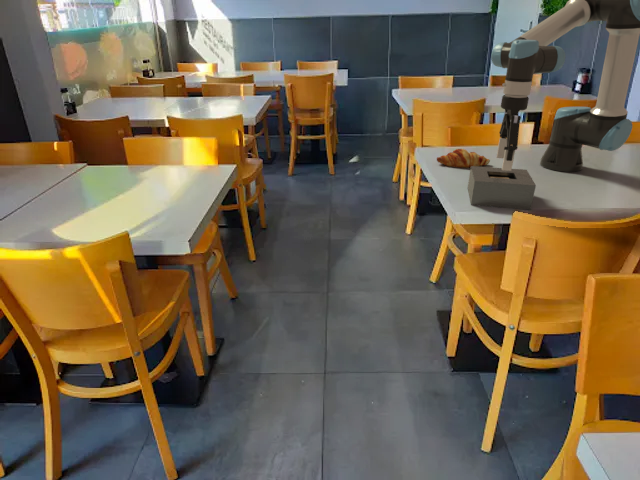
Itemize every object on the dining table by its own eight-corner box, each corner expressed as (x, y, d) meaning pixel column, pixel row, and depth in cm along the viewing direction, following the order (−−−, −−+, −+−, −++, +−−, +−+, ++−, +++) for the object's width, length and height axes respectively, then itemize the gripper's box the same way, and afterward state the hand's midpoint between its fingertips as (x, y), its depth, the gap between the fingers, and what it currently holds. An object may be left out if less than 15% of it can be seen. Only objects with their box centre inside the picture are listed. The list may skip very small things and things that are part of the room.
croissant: (485, 171, 198) (485, 152, 198) (494, 166, 188) (494, 146, 188) (433, 170, 197) (433, 150, 197) (440, 165, 187) (440, 145, 187)
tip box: (522, 192, 165) (526, 169, 162) (530, 209, 151) (535, 185, 148) (467, 188, 168) (470, 166, 165) (470, 204, 154) (474, 180, 151)
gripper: (497, 88, 157) (487, 152, 166) (508, 102, 135) (495, 175, 144) (522, 89, 156) (510, 154, 165) (537, 103, 134) (522, 176, 143)
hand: (503, 164), depth 155 cm, fingers open, 13 cm apart
